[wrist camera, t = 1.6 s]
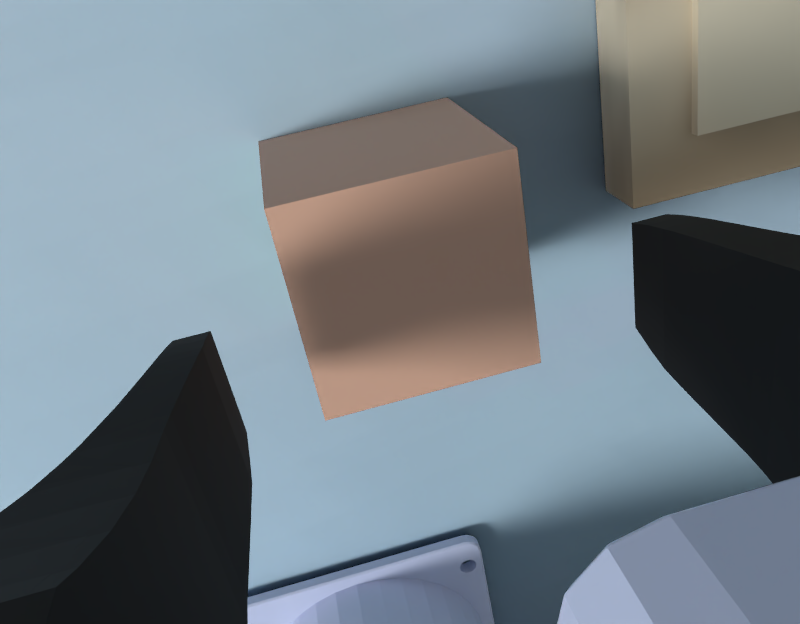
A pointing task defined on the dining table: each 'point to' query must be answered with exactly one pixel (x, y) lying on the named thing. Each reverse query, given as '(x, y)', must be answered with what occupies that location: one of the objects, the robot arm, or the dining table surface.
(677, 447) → the dining table surface
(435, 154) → the terracotta cube
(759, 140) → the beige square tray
